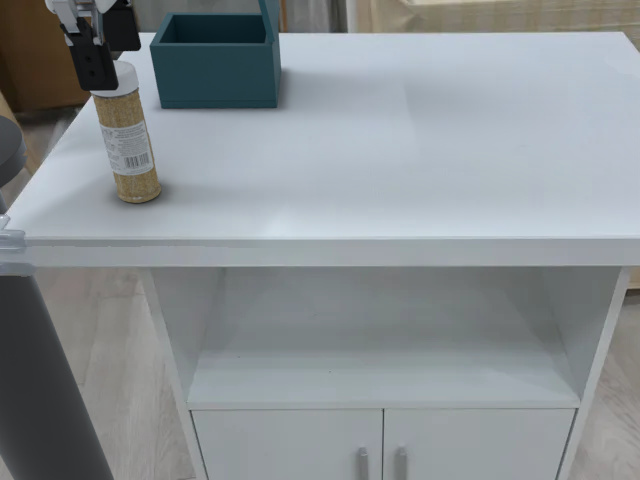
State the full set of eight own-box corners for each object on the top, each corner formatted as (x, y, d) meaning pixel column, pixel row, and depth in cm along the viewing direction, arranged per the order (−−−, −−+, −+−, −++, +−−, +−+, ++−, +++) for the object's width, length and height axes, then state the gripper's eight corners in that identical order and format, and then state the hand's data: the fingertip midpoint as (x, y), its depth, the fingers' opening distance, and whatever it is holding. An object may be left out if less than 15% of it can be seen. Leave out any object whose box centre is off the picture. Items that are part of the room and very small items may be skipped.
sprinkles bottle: (160, 180, 74) (133, 56, 65) (163, 201, 71) (136, 73, 62) (116, 186, 73) (83, 60, 64) (117, 207, 70) (83, 78, 61)
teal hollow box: (161, 108, 88) (148, 45, 82) (177, 70, 97) (167, 12, 92) (276, 108, 89) (272, 45, 83) (281, 70, 98) (277, 12, 93)
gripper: (42, -168, 58) (96, 38, 69) (-38, -140, 45) (43, 108, 56) (131, -168, 58) (170, 37, 69) (76, -140, 45) (135, 106, 56)
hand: (113, 68), depth 63 cm, fingers open, 9 cm apart
